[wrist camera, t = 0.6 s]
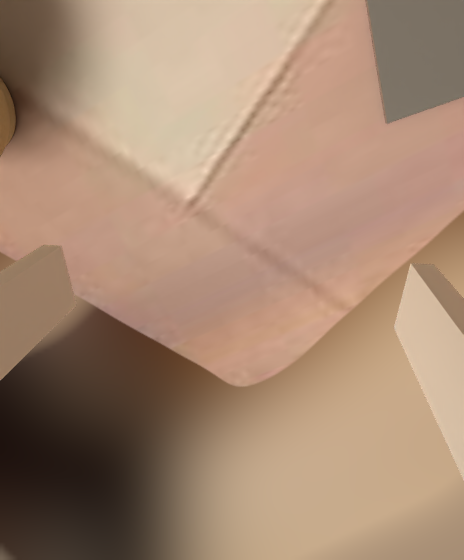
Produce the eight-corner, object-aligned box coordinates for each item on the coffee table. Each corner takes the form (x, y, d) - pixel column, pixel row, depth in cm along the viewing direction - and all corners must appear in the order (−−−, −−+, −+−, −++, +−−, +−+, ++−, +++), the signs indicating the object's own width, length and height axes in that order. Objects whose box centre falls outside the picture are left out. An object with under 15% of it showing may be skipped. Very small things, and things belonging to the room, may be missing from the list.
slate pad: (365, -4, 28) (366, -6, 28) (506, -68, 25) (510, -72, 25) (385, 123, 32) (387, 123, 32) (509, 79, 29) (513, 79, 29)
